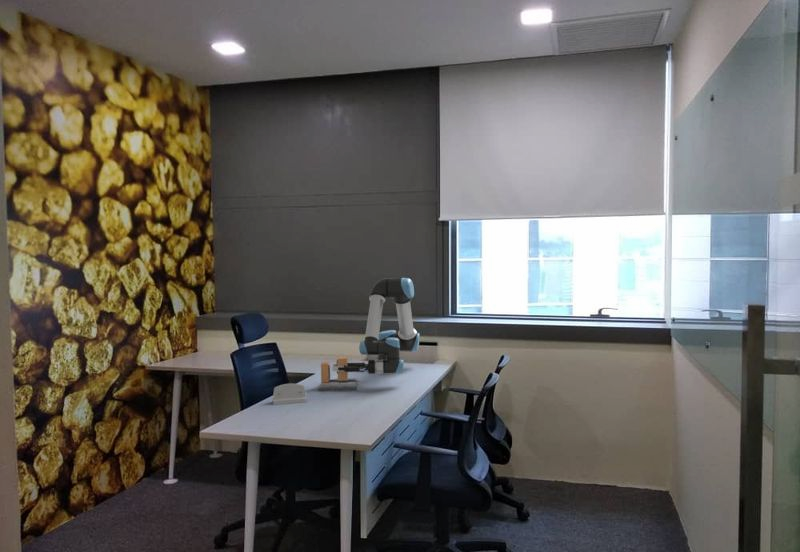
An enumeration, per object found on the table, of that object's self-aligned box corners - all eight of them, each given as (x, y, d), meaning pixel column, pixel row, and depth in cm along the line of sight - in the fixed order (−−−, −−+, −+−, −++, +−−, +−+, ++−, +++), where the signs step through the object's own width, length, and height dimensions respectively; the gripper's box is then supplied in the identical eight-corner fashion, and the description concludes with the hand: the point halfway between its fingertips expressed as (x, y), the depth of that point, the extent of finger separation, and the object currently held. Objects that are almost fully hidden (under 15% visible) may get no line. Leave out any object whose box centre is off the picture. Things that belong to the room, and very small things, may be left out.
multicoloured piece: (321, 384, 320) (321, 360, 319) (358, 383, 320) (357, 359, 319) (318, 390, 306) (317, 365, 305) (356, 390, 306) (356, 365, 305)
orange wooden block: (337, 378, 315) (337, 356, 314) (347, 378, 315) (347, 356, 314) (336, 380, 310) (336, 358, 309) (347, 380, 310) (346, 358, 309)
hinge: (272, 404, 280) (272, 384, 283) (272, 405, 285) (272, 385, 288) (306, 402, 284) (306, 382, 287) (306, 403, 288) (305, 383, 291)
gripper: (375, 377, 303) (331, 378, 303) (375, 370, 321) (334, 370, 321) (374, 363, 303) (330, 364, 303) (375, 356, 321) (334, 357, 321)
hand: (332, 367), depth 312 cm, fingers closed on orange wooden block, 5 cm apart
